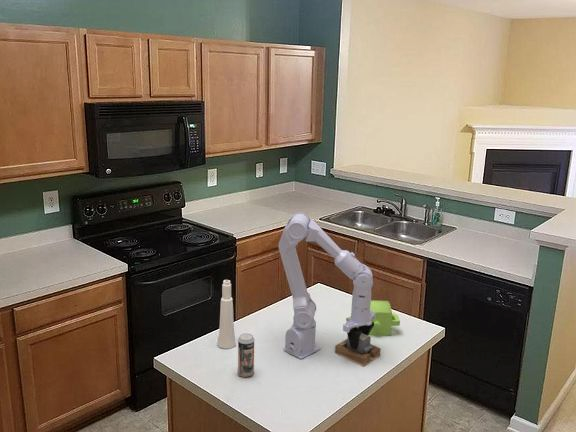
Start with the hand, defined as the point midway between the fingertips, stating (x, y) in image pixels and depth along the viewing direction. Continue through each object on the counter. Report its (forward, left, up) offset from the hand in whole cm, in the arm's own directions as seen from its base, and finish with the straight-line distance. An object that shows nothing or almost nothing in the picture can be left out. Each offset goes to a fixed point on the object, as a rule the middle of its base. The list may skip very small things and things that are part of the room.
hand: (358, 345), depth 170 cm
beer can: (-33, +16, -3) cm, 37 cm away
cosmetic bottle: (-26, +33, -3) cm, 42 cm away
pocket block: (0, 0, -3) cm, 3 cm away
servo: (0, 0, -2) cm, 2 cm away
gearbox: (+16, +6, -3) cm, 18 cm away
